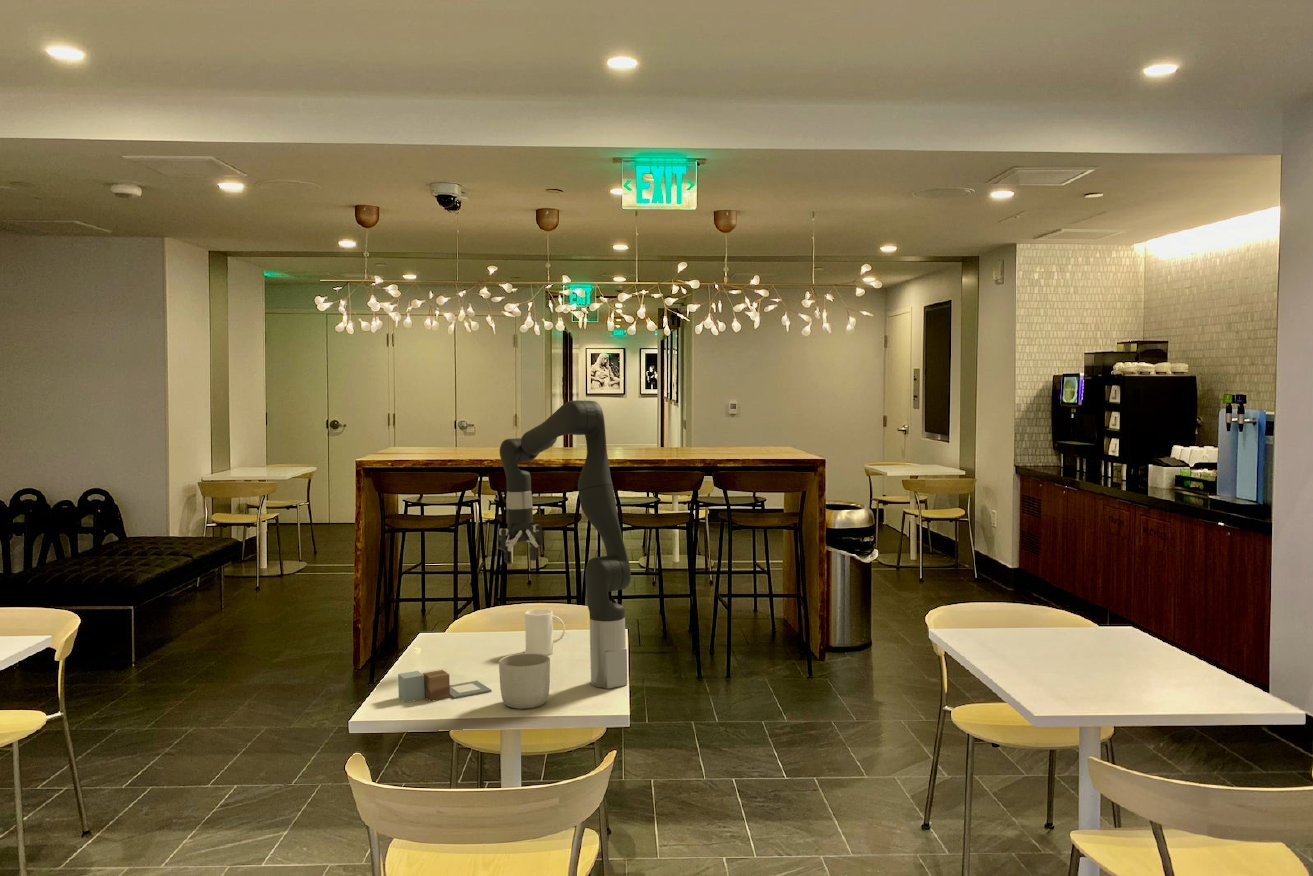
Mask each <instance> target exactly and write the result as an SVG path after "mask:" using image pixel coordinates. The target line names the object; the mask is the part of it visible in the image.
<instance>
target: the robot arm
mask: <svg viewBox="0 0 1313 876" xmlns="http://www.w3.org/2000/svg"><path fill="white" fill-rule="evenodd" d="M565 435H572V436H574V435H575V436H583V435H584V438H585V442H586V457H585V460H584V464H583V467H582V469H581V471H580V474H579V478H578V482H577V489H578V495H579V496H578V497H579V502H580V508H581V510H582V513H583V514H584V516H585V517H586V519H587V520H588V521H589V523H590V524H591V525H592V526H593V528H594V529H596V531H597V533H598V534H599V536H600V537H601V539H602V542H603V545H604V549H605V554H606V555H603V556H596V557H592V558H590V559H588V561H587V563H586V566H585V571H584V572H585V576H584V577H585V589H586V590H585V591H586V604H587V609H588V613H589V645H590V646H589V649H590V651H589V654H590V655H589V656H590V685H592V686H594V687H597V688H603V689H607V690H608V689H614V688H618V687H623V686H627V685H628V649H627V648H626V609H625V606H623V605H622V604H619V603H616V602H613V601H611V600H610V595H609V592H614V591H621V590H625V589H626V588H627V587H629V586H630V584H631V581H632V580H631V578H632V571H631V565H630V561H629V555H628V553H627V552H628V551H627V550H626V545H625V542H624V538H623V533H622V531H621V527H620V525H621V524H620V521H619V515H618V514H619V513H618V509H617V503H616V502H617V501H616V496H615V490H614V485H613V481H612V477H611V470H610V469H611V468H610V463H609V455H608V449H607V447H608V446H607V438H606V436H607V435H606V424H605V416H604V411H603V409H602V407H601V405H600V404H599V403H598V402H597V401H594V400H578V399H577V400H569V401H566V402H565V403H564V404H562V405H561V406H560V407H559V408H558V409H557V410H555V411H554V412H553V413H552V414H551V415H550V416H549V417H548V418H547V419H545V420H544V421H543V422H542V423H540V424H539V425H536V426H535V427H533V428H531V429H530V430H527V431H526V432H525V433H523V434H522V436H521V438H507V439H504V440H503V441H502V442H501V443H500V447H499V456H500V457H499V458H500V461H501V464H502V466H503V467H502V468H503V471H504V474H505V478H506V501H505V503H506V504H505V505H506V522H507V523H506V524H507V527H506V528H498V529H497V549H498V550H502V551H503V561H504V562H505V564H506V565H512V563H513V562H512V560H513V559H512V555H513V554H512V549H513V547H514V545H515V546H516V544H517V543H521V542H526V543H527V544H528V545H529V546H530V547H529V560H530V561H532V562H533V561H534V562H535V561H536V560H537V559H538V547H540V546H541V545H543V544H544V539H543V527H542V525H541V524H537V523H536V524H534V525H533V522H534V519H533V518H534V517H533V516H534V515H533V513H534V511H533V496H532V495H533V494H532V477H531V474H530V472H529V471H527V470H522V469H520V468H519V465H518V463H527V462H531V461H534V460H535V459H536V458H537V457H538V456H539V455H540V453H542V452H544V451H546V450H548V449H550V448H551V447H553V446H554V444H555V443H556V442H557V439H558V437H562V436H565ZM532 533H534V535H533V534H532Z"/></svg>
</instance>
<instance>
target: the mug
mask: <svg viewBox="0 0 1313 876" xmlns="http://www.w3.org/2000/svg"><path fill="white" fill-rule="evenodd" d="M524 613H525V614H524V619H525V622H524V624H525V626H524V627H525V651H524V653H537V654H543V655H546V656H549V655H552V654H554V653H555V647H554V644H555V643H558V642H560V641H561V640H562V639H563V637H564V635H565V633H566V632H565V631H566V626H565V623H564V622H563V620H562V619H561V618H560V617H558V616H557V615H554V614H553V610H552V609H545V608H544V609H541V608H540V609H539V608H538V609H530V610H527V611H525V612H524ZM554 620H555V621H559V623H560V624H561V625H562V629H563V630H562V632H561V635H560V636H559V637H557V638H554Z"/></svg>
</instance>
